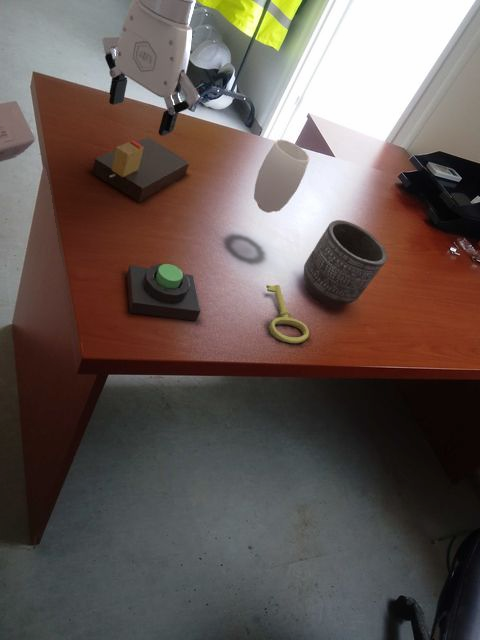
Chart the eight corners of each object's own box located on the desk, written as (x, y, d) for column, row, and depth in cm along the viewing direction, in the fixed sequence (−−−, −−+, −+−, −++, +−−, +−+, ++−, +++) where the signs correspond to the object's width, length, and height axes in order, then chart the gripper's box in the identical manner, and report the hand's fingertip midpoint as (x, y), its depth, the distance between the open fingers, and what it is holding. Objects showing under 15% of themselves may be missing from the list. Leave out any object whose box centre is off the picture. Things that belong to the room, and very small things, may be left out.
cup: (220, 244, 86) (265, 141, 72) (239, 232, 91) (284, 134, 77) (250, 266, 85) (301, 167, 71) (268, 253, 90) (318, 158, 77)
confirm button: (156, 287, 65) (159, 278, 64) (154, 270, 68) (157, 261, 66) (180, 291, 67) (184, 282, 66) (177, 274, 69) (181, 266, 68)
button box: (129, 313, 65) (135, 292, 62) (126, 275, 70) (132, 255, 67) (196, 321, 70) (204, 302, 67) (189, 285, 74) (196, 266, 72)
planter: (309, 263, 95) (341, 212, 86) (357, 298, 94) (394, 249, 85) (285, 286, 85) (318, 231, 77) (338, 325, 84) (377, 274, 76)
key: (273, 290, 83) (278, 282, 82) (310, 341, 78) (316, 333, 77) (242, 294, 79) (247, 285, 77) (280, 348, 74) (285, 340, 72)
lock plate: (130, 207, 82) (134, 191, 80) (83, 177, 82) (85, 161, 79) (185, 175, 97) (189, 161, 95) (145, 150, 97) (149, 136, 95)
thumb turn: (122, 177, 81) (128, 153, 78) (111, 170, 81) (116, 145, 78) (138, 169, 85) (144, 146, 82) (127, 163, 85) (132, 139, 82)
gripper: (99, -30, 63) (82, 94, 74) (205, 37, 63) (172, 151, 74) (130, -28, 68) (110, 87, 80) (227, 34, 69) (193, 140, 80)
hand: (140, 118), depth 77 cm, fingers open, 9 cm apart
